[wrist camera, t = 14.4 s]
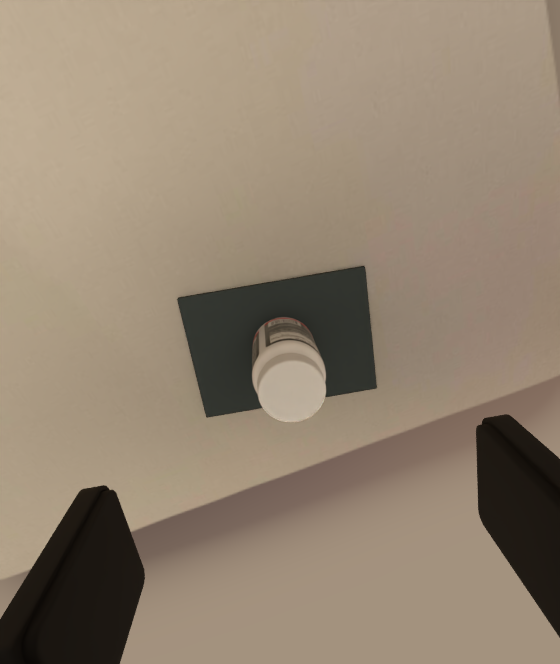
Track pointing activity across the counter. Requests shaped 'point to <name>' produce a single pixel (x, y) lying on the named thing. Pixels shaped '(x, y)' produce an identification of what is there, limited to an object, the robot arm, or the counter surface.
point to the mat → (269, 303)
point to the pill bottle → (287, 370)
